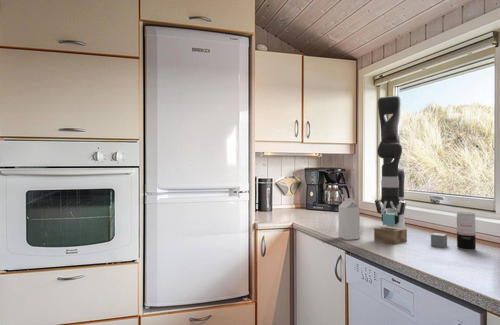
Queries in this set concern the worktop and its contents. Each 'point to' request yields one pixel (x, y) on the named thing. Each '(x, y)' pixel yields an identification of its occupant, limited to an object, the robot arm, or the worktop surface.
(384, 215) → the teal cube
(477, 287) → the worktop surface
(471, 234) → the white and black canister
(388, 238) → the walnut base block
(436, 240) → the gray cube
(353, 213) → the milk carton
